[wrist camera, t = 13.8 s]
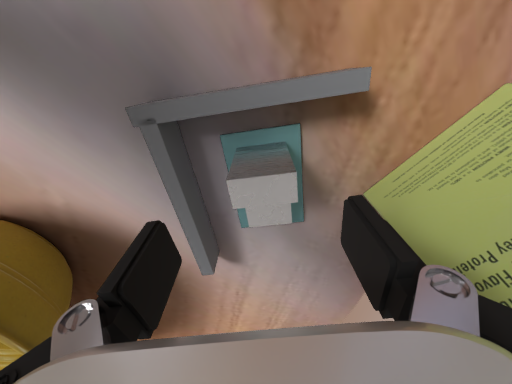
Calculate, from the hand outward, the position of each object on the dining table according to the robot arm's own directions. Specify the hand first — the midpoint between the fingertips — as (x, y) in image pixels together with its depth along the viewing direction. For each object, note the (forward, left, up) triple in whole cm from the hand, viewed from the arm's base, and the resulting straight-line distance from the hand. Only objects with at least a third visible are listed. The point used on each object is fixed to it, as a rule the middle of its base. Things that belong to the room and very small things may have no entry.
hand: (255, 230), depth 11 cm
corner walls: (+1, -4, -13) cm, 13 cm away
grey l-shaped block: (0, -4, -12) cm, 13 cm away
